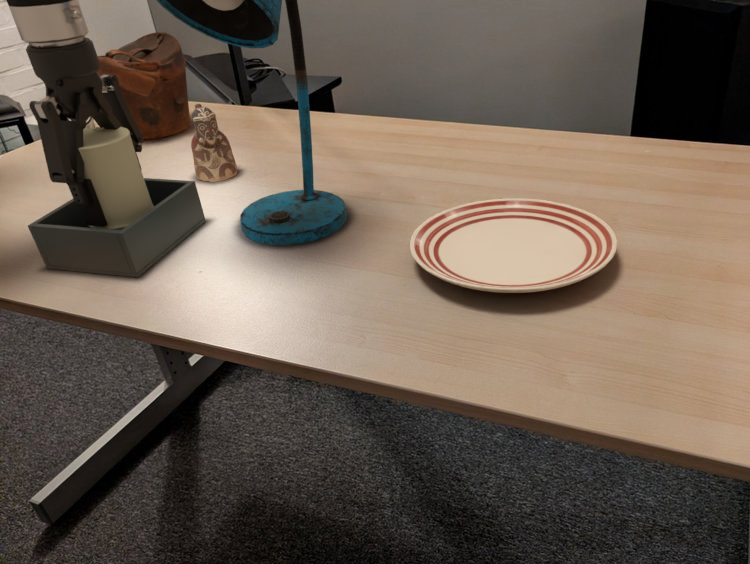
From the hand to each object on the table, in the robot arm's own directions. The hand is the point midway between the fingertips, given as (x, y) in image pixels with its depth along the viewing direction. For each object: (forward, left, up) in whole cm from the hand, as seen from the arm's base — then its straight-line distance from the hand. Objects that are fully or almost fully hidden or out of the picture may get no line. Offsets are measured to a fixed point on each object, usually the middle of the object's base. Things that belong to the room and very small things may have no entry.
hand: (119, 210), depth 93 cm
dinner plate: (+56, +5, -6) cm, 56 cm away
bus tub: (0, 0, -5) cm, 5 cm away
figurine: (-1, +27, -6) cm, 28 cm away
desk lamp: (+21, +9, -6) cm, 23 cm away
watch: (-31, +33, -6) cm, 46 cm away
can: (0, 0, -1) cm, 1 cm away
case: (-27, +48, -6) cm, 55 cm away
